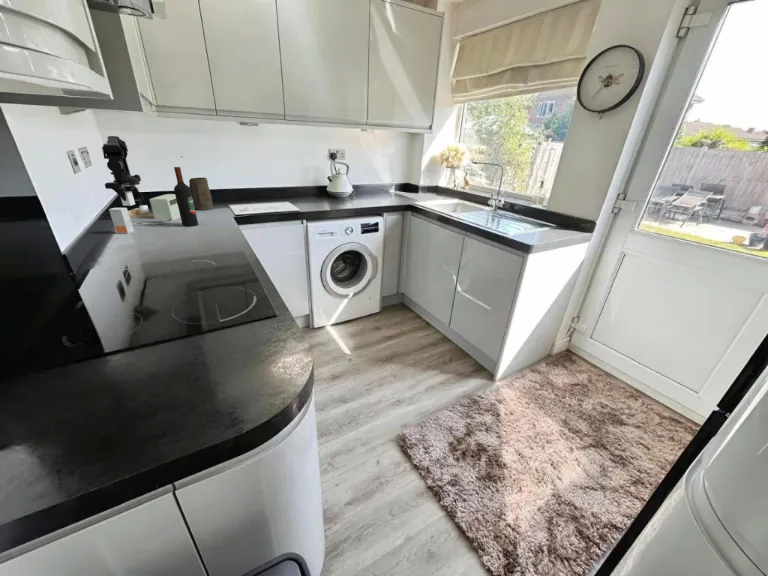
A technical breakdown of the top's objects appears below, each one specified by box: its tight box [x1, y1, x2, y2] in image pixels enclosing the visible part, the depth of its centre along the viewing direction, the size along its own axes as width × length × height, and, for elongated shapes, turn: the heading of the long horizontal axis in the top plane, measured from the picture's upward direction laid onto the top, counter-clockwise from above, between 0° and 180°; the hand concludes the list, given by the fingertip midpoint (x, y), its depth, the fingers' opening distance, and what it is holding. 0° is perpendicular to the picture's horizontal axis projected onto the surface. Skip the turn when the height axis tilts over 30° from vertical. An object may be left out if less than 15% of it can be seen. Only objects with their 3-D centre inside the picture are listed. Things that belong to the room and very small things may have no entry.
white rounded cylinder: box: [139, 204, 150, 215], centre depth 192 cm, size 4×4×5 cm
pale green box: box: [149, 193, 181, 222], centre depth 190 cm, size 17×10×12 cm, turn 3°
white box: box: [120, 191, 135, 207], centre depth 177 cm, size 4×4×7 cm
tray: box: [128, 208, 155, 219], centre depth 191 cm, size 12×18×4 cm, turn 93°
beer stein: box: [188, 177, 215, 211], centre depth 212 cm, size 15×11×20 cm
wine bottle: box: [173, 166, 199, 228], centre depth 171 cm, size 8×8×30 cm
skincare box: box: [108, 207, 135, 235], centre depth 159 cm, size 6×4×12 cm
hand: (127, 200), depth 178 cm, fingers closed on white box, 4 cm apart
